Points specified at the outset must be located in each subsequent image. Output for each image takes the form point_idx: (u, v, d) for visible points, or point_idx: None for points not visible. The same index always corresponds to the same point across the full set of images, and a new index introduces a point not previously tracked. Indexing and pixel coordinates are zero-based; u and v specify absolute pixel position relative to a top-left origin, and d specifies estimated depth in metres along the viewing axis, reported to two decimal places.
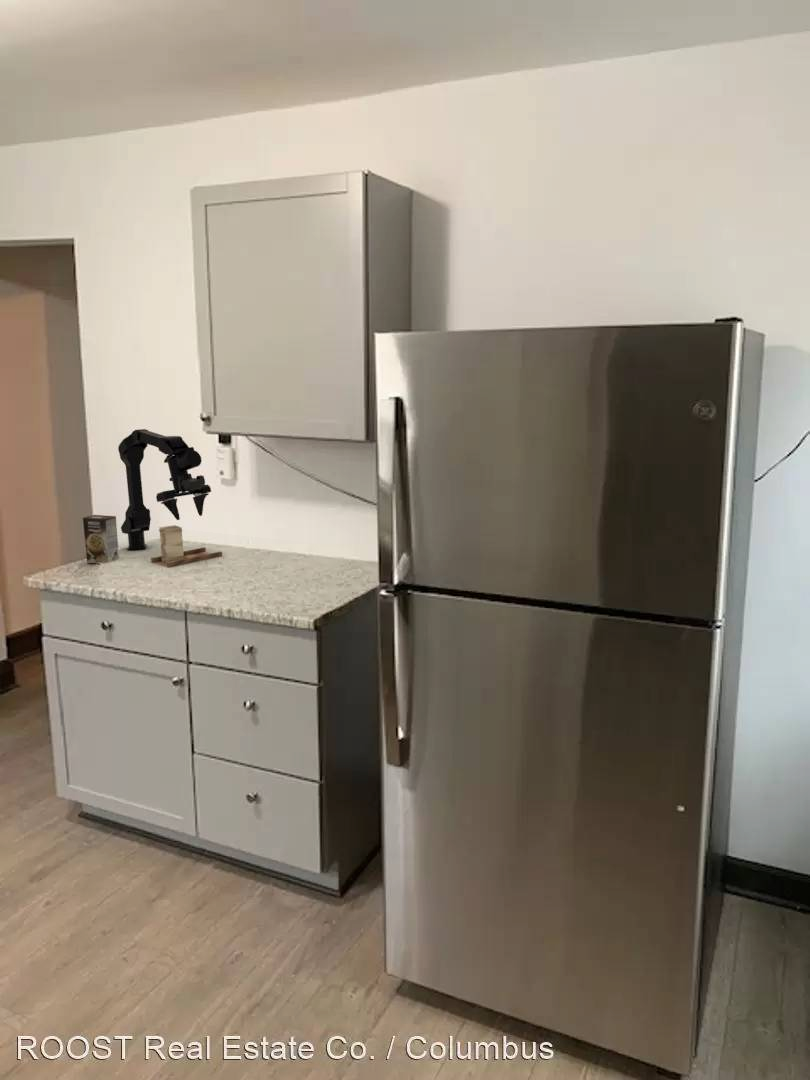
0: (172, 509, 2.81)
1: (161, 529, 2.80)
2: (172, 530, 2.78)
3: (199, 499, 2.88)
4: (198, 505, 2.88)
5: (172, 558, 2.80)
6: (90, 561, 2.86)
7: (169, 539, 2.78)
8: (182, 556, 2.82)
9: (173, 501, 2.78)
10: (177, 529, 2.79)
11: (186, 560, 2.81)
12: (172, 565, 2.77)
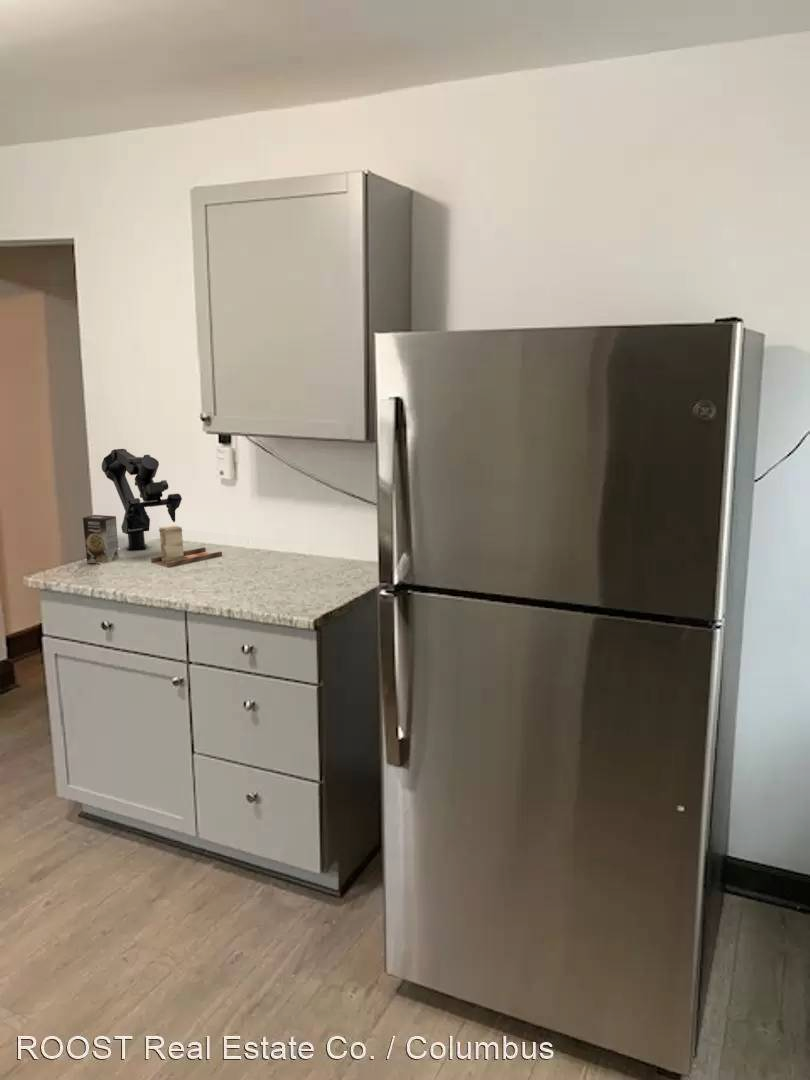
0: (141, 516, 2.85)
1: (161, 529, 2.80)
2: (172, 530, 2.78)
3: (170, 507, 2.91)
4: (171, 513, 2.91)
5: (172, 558, 2.80)
6: (90, 561, 2.86)
7: (169, 539, 2.78)
8: (182, 556, 2.82)
9: (138, 506, 2.83)
10: (177, 529, 2.79)
11: (186, 560, 2.81)
12: (172, 565, 2.77)
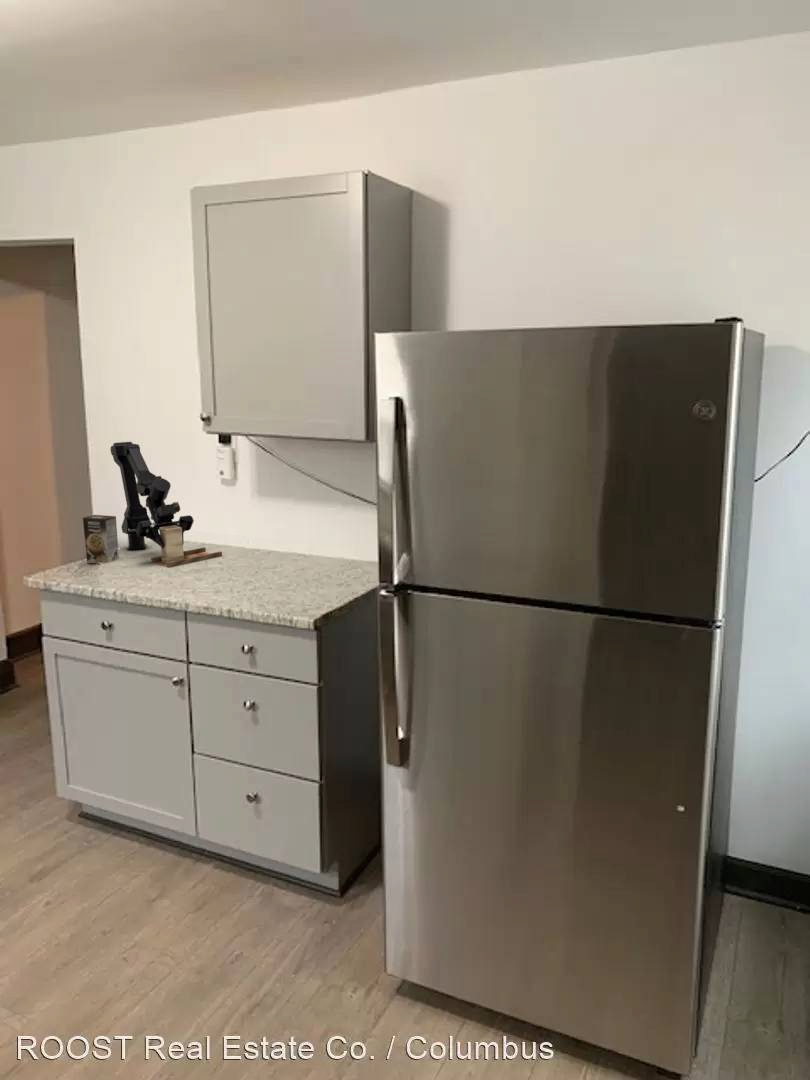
0: (156, 539, 2.80)
1: (161, 529, 2.80)
2: (172, 530, 2.78)
3: None
4: None
5: (172, 558, 2.80)
6: (90, 561, 2.86)
7: (169, 539, 2.78)
8: (182, 556, 2.82)
9: (153, 529, 2.79)
10: (177, 529, 2.79)
11: (186, 560, 2.81)
12: (172, 565, 2.77)
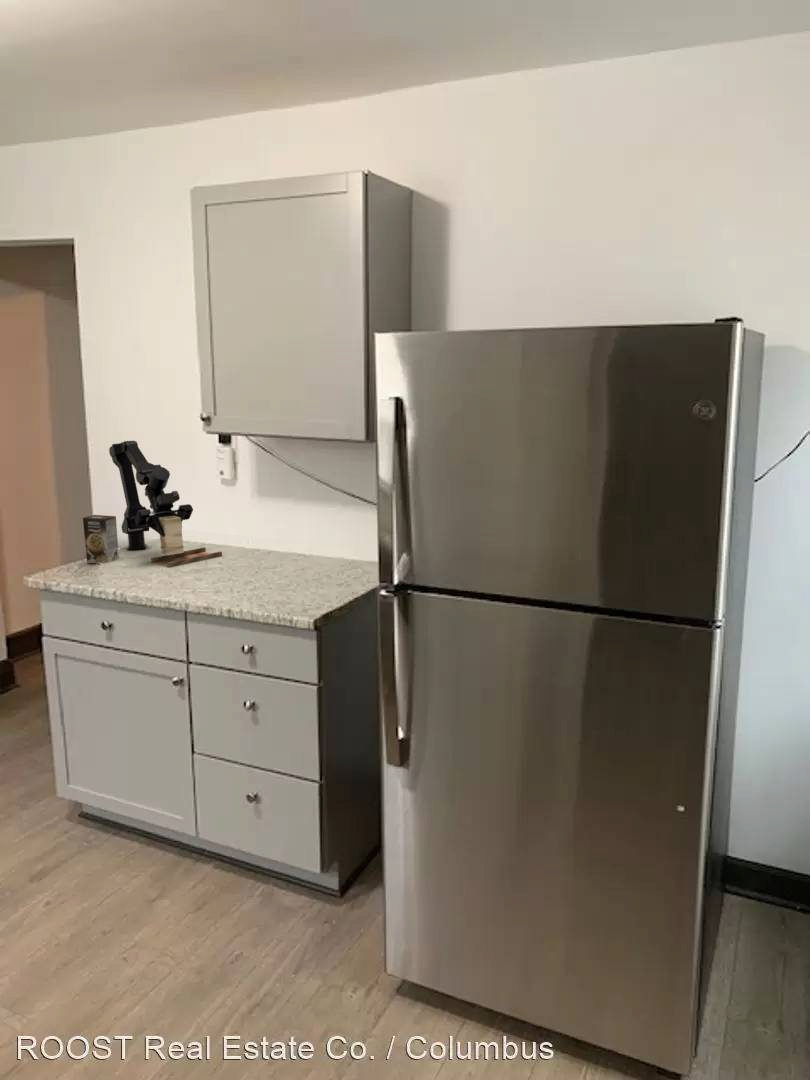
0: (156, 527, 2.79)
1: (160, 519, 2.79)
2: (171, 520, 2.78)
3: None
4: None
5: (171, 548, 2.79)
6: (90, 561, 2.86)
7: (168, 529, 2.77)
8: (181, 546, 2.81)
9: (154, 517, 2.78)
10: (176, 519, 2.79)
11: (186, 560, 2.81)
12: (172, 565, 2.77)
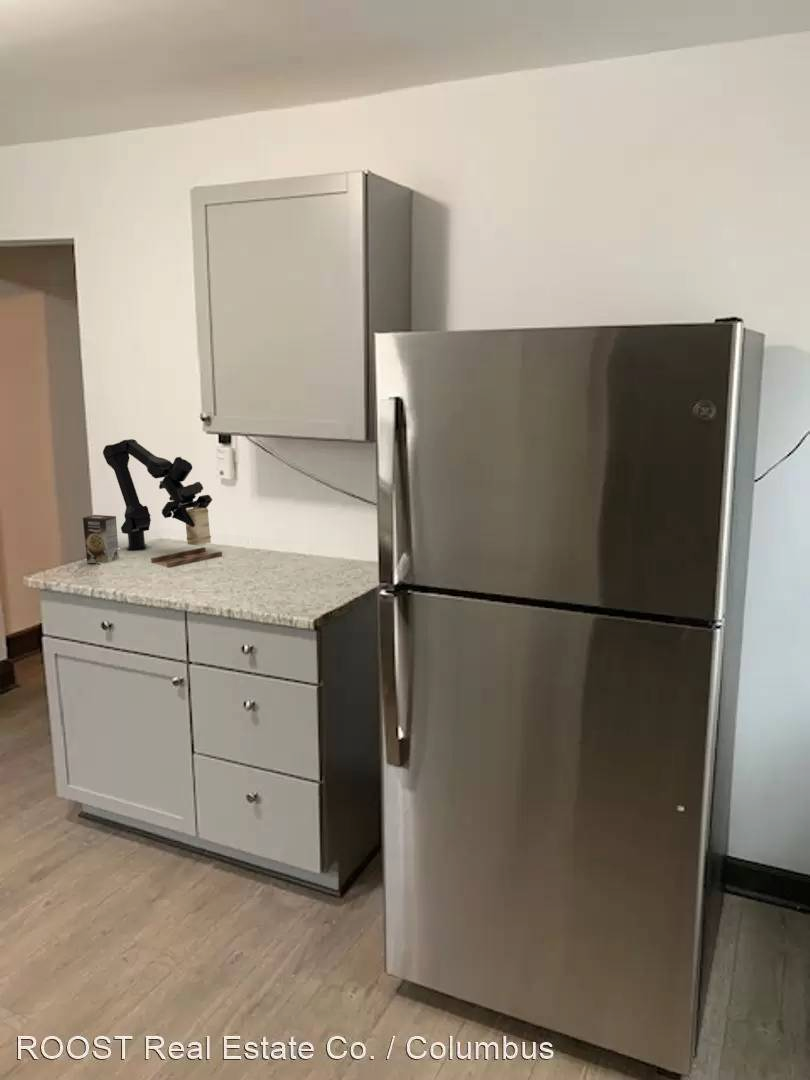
0: (184, 518, 2.85)
1: (188, 511, 2.86)
2: (200, 511, 2.85)
3: None
4: None
5: (201, 538, 2.87)
6: (90, 561, 2.86)
7: (198, 520, 2.85)
8: (209, 536, 2.89)
9: (182, 508, 2.84)
10: (204, 510, 2.87)
11: (186, 560, 2.81)
12: (172, 565, 2.77)
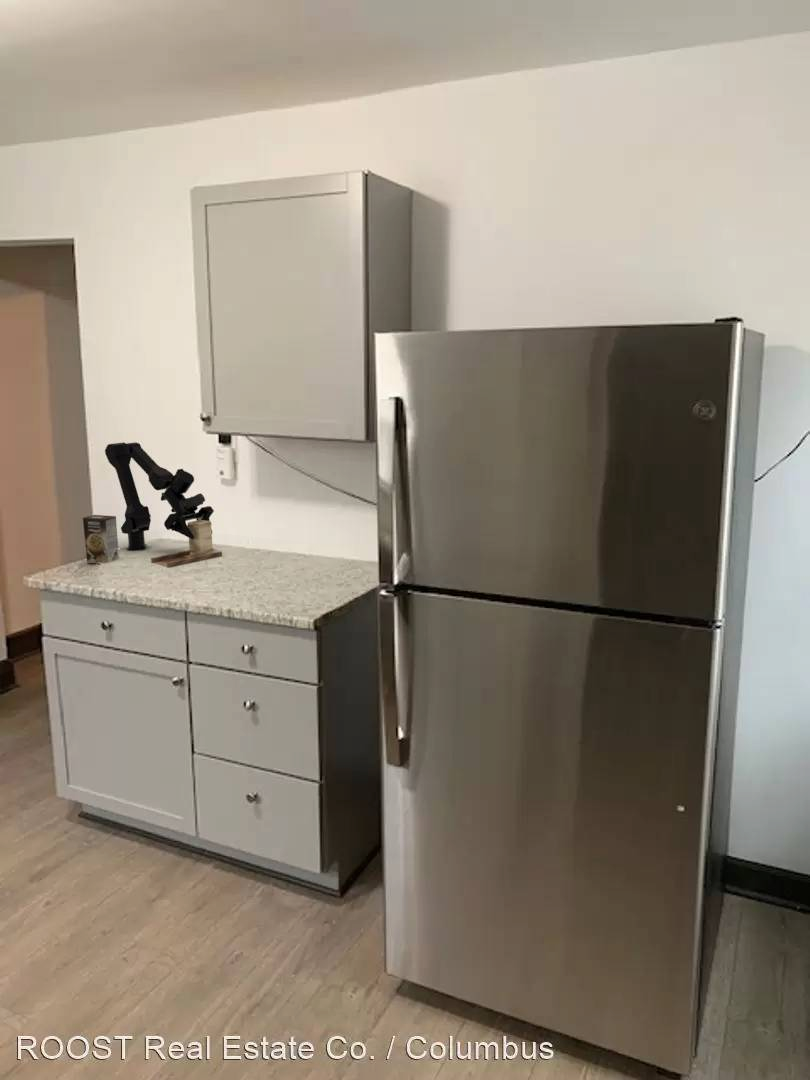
0: (184, 530, 2.85)
1: (191, 524, 2.87)
2: (204, 524, 2.87)
3: None
4: None
5: (204, 551, 2.88)
6: (90, 561, 2.86)
7: (201, 533, 2.86)
8: (211, 549, 2.91)
9: (182, 521, 2.84)
10: (207, 523, 2.88)
11: (186, 560, 2.81)
12: (172, 565, 2.77)
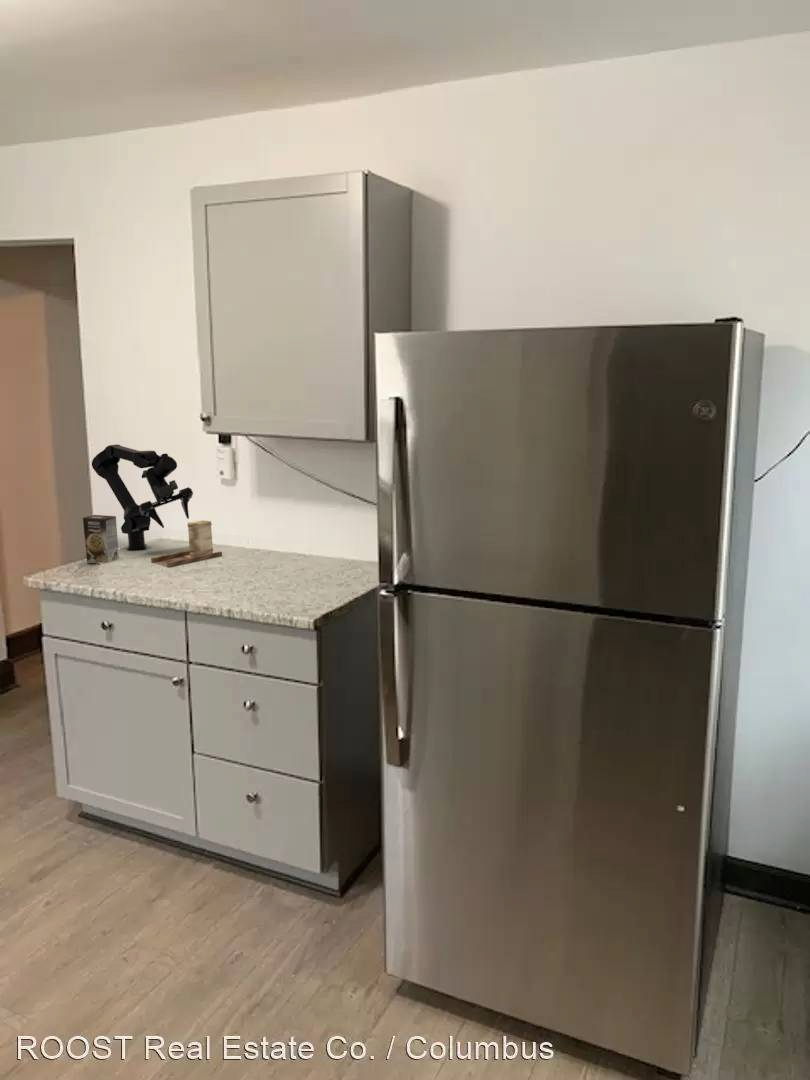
0: (155, 519, 2.92)
1: (191, 524, 2.87)
2: (204, 524, 2.87)
3: (183, 503, 2.96)
4: (184, 509, 2.96)
5: (204, 551, 2.88)
6: (90, 561, 2.86)
7: (201, 533, 2.86)
8: (211, 549, 2.91)
9: (151, 511, 2.90)
10: (207, 523, 2.88)
11: (186, 560, 2.81)
12: (172, 565, 2.77)
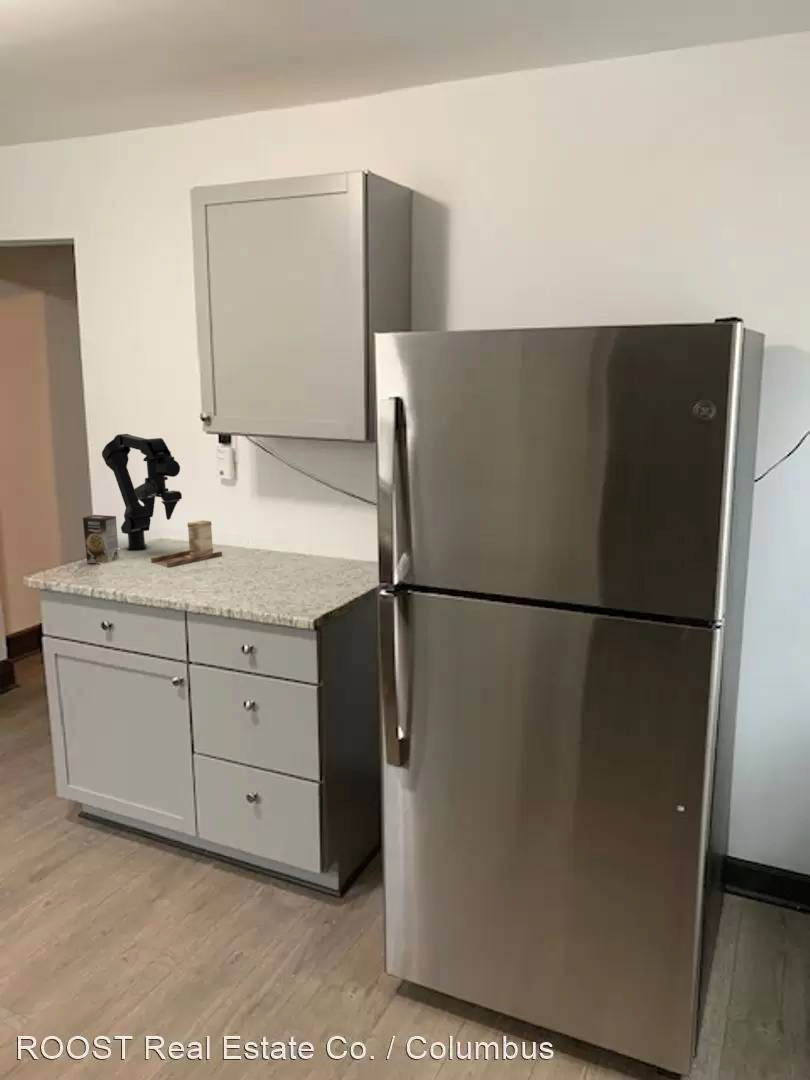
0: None
1: (191, 524, 2.87)
2: (204, 524, 2.87)
3: None
4: None
5: (204, 551, 2.88)
6: (90, 561, 2.86)
7: (201, 533, 2.86)
8: (211, 549, 2.91)
9: (140, 500, 2.97)
10: (207, 523, 2.88)
11: (186, 560, 2.81)
12: (172, 565, 2.77)
